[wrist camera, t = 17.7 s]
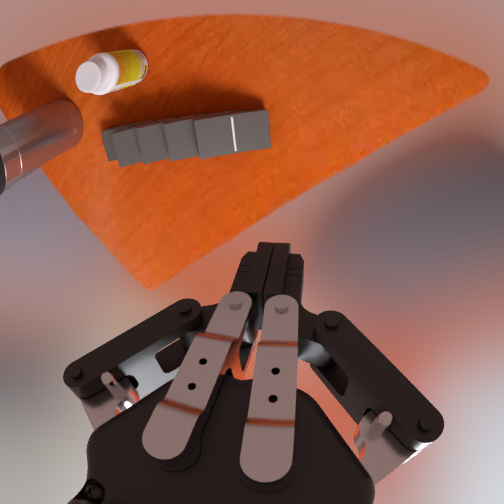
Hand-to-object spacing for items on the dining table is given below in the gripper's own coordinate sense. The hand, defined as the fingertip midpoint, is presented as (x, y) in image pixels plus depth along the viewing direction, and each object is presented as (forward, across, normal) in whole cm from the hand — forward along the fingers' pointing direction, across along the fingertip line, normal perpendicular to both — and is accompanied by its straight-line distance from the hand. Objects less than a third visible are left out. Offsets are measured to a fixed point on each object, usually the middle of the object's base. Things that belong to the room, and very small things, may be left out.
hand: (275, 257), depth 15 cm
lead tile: (+26, +4, 0) cm, 27 cm away
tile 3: (+26, +12, 0) cm, 29 cm away
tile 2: (+26, +8, 0) cm, 28 cm away
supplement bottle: (+27, +22, -11) cm, 37 cm away
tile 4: (+26, +16, 0) cm, 31 cm away
